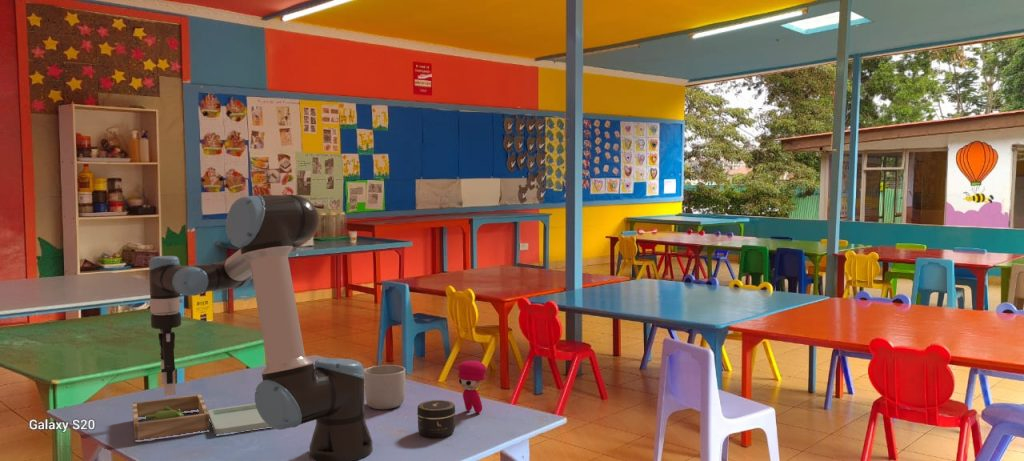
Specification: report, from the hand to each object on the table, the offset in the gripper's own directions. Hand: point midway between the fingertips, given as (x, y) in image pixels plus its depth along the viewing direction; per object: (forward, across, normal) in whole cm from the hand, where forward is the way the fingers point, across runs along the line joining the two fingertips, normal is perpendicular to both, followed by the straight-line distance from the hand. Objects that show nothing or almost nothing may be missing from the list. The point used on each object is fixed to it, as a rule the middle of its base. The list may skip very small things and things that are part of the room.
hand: (168, 388), depth 209 cm
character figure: (+11, -2, 0) cm, 11 cm away
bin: (+10, 0, 0) cm, 10 cm away
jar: (+10, -42, -62) cm, 76 cm away
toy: (+10, -30, -78) cm, 84 cm away
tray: (+10, -6, -20) cm, 24 cm away
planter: (+10, -11, -58) cm, 60 cm away
